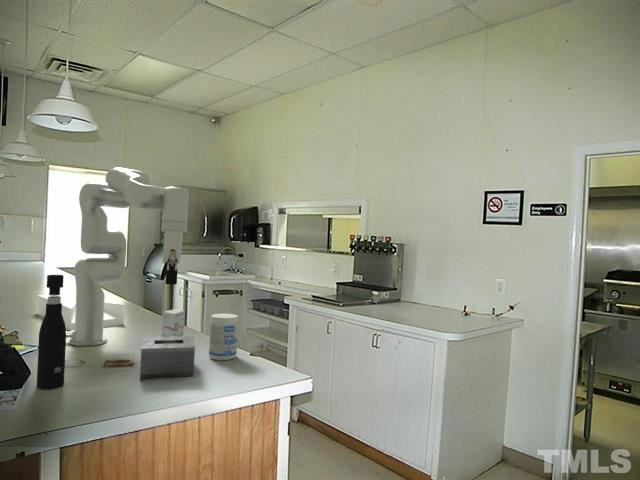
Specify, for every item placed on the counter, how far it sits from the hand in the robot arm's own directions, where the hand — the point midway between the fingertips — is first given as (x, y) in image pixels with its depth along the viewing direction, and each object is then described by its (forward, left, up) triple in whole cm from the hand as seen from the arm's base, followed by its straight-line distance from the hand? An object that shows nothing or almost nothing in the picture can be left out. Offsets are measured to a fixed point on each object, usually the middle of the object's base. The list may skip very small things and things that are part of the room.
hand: (171, 282), depth 139 cm
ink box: (+1, +39, -28) cm, 48 cm away
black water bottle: (-30, -9, -28) cm, 42 cm away
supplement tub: (+18, +13, -28) cm, 36 cm away
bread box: (-41, +85, -28) cm, 98 cm away
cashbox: (0, 0, -28) cm, 28 cm away
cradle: (-15, +9, -28) cm, 33 cm away
